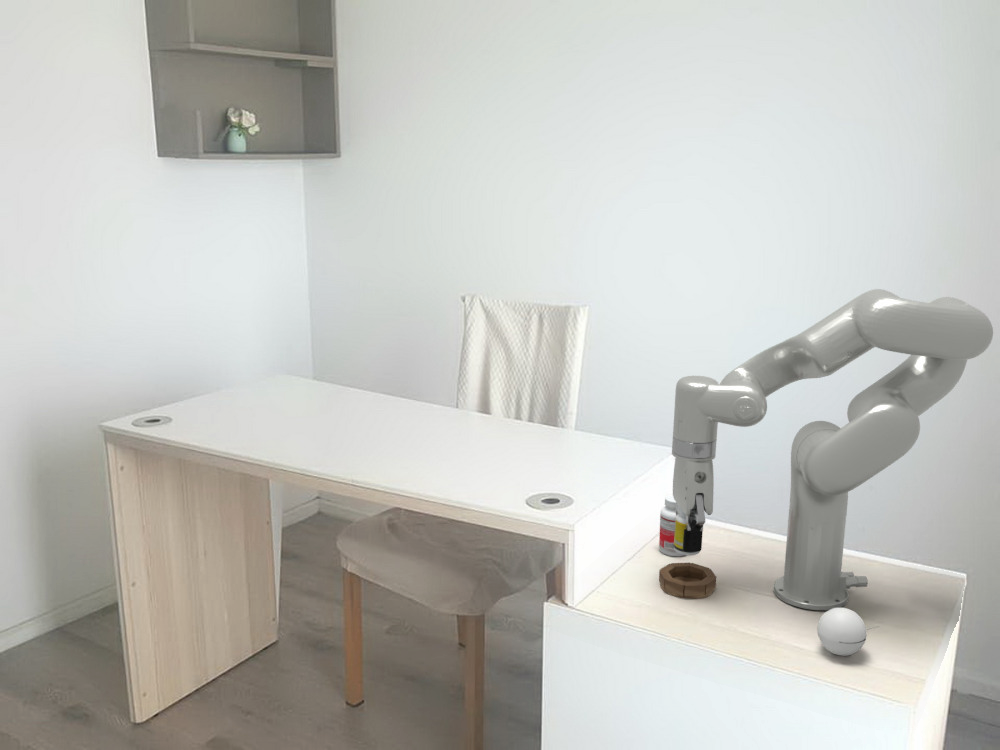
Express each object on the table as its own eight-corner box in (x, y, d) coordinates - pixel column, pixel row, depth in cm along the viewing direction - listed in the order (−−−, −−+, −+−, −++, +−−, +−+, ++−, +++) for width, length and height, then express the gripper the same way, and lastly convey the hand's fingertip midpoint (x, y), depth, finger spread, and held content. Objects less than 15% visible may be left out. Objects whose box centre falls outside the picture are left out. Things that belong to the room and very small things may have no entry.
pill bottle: (683, 543, 197) (685, 491, 194) (695, 555, 191) (698, 502, 188) (654, 546, 195) (656, 493, 193) (665, 558, 189) (668, 504, 187)
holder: (705, 574, 182) (705, 561, 182) (720, 598, 173) (721, 584, 173) (654, 576, 182) (655, 563, 181) (667, 600, 172) (668, 586, 172)
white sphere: (824, 665, 151) (828, 621, 149) (809, 641, 158) (813, 599, 157) (889, 665, 151) (893, 621, 150) (871, 641, 158) (875, 599, 157)
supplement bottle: (700, 557, 173) (703, 512, 171) (673, 554, 174) (675, 510, 172) (700, 546, 178) (703, 502, 176) (673, 544, 179) (676, 500, 177)
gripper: (730, 462, 163) (722, 563, 168) (701, 432, 180) (694, 525, 184) (686, 463, 163) (679, 564, 167) (660, 433, 179) (655, 526, 183)
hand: (687, 543), depth 175 cm, fingers closed on supplement bottle, 4 cm apart
